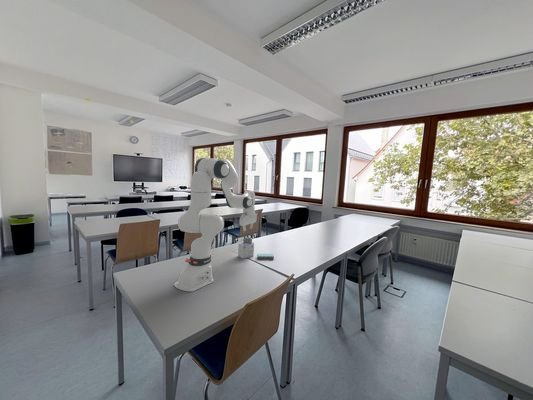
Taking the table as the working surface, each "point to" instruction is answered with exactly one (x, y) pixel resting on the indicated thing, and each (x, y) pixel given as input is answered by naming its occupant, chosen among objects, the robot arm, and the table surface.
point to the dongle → (247, 240)
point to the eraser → (265, 256)
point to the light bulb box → (245, 250)
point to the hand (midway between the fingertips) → (247, 229)
